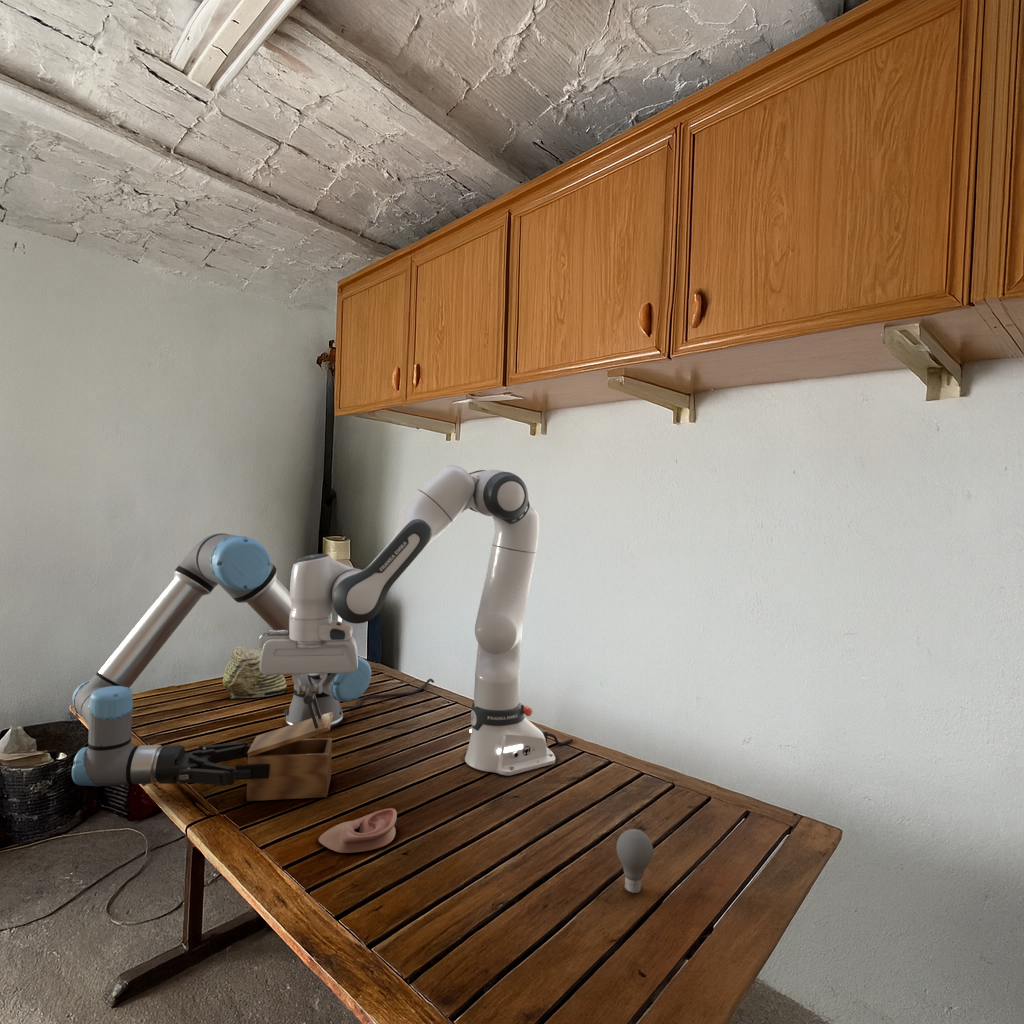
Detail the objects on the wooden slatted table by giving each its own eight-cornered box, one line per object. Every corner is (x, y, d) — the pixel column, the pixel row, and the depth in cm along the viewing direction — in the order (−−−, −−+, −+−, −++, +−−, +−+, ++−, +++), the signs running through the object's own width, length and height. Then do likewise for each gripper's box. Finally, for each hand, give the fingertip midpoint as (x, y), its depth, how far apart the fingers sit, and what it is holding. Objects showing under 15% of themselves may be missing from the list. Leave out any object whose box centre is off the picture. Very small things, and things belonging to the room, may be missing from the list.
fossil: (218, 695, 195) (220, 647, 195) (278, 685, 208) (279, 640, 207) (228, 703, 189) (230, 653, 188) (289, 692, 201) (290, 645, 201)
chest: (330, 777, 143) (332, 737, 142) (326, 797, 133) (327, 754, 133) (255, 781, 140) (257, 740, 139) (246, 801, 130) (247, 757, 130)
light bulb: (610, 879, 108) (613, 822, 108) (644, 879, 109) (647, 822, 109) (619, 902, 102) (622, 840, 102) (655, 901, 103) (658, 840, 103)
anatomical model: (310, 826, 114) (340, 797, 125) (309, 848, 114) (339, 817, 125) (379, 837, 111) (403, 806, 122) (378, 859, 111) (403, 827, 123)
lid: (333, 715, 142) (323, 680, 142) (329, 730, 133) (318, 693, 133) (257, 739, 139) (246, 704, 139) (248, 757, 130) (236, 719, 130)
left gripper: (177, 760, 143) (282, 757, 147) (138, 807, 121) (262, 802, 125) (178, 727, 142) (283, 725, 146) (139, 768, 121) (263, 765, 125)
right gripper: (256, 633, 131) (255, 699, 132) (357, 632, 135) (356, 696, 135) (262, 627, 138) (261, 690, 138) (359, 625, 141) (358, 687, 142)
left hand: (273, 761), depth 136 cm, fingers closed on chest, 9 cm apart
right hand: (309, 693), depth 137 cm, fingers closed
